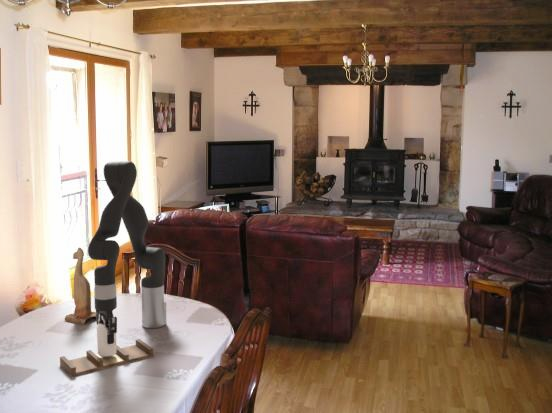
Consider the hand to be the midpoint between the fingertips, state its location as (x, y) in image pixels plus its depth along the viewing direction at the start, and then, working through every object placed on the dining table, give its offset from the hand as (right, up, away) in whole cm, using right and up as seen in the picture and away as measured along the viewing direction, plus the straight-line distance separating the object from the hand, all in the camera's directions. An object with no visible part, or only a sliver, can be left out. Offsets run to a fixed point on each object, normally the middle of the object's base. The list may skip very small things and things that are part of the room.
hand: (106, 340), depth 219 cm
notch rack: (0, -7, +1) cm, 7 cm away
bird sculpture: (-22, -1, +45) cm, 50 cm away
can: (0, -5, +1) cm, 5 cm away
